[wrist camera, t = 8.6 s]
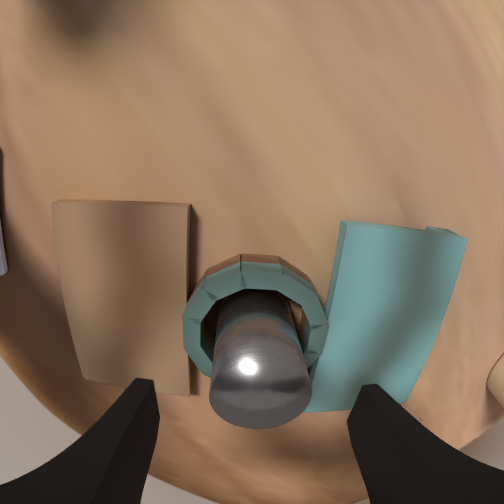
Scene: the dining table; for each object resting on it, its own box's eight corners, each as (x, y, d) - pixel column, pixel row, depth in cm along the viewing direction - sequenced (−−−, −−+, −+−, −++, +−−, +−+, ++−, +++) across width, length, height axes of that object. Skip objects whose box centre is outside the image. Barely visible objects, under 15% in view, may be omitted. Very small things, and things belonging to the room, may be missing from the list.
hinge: (88, 371, 17) (77, 391, 15) (59, 199, 13) (38, 208, 11) (396, 384, 18) (406, 404, 16) (448, 229, 14) (469, 240, 12)
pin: (218, 341, 16) (211, 427, 10) (219, 280, 15) (207, 359, 9) (285, 342, 16) (303, 427, 10) (293, 282, 15) (320, 359, 9)
